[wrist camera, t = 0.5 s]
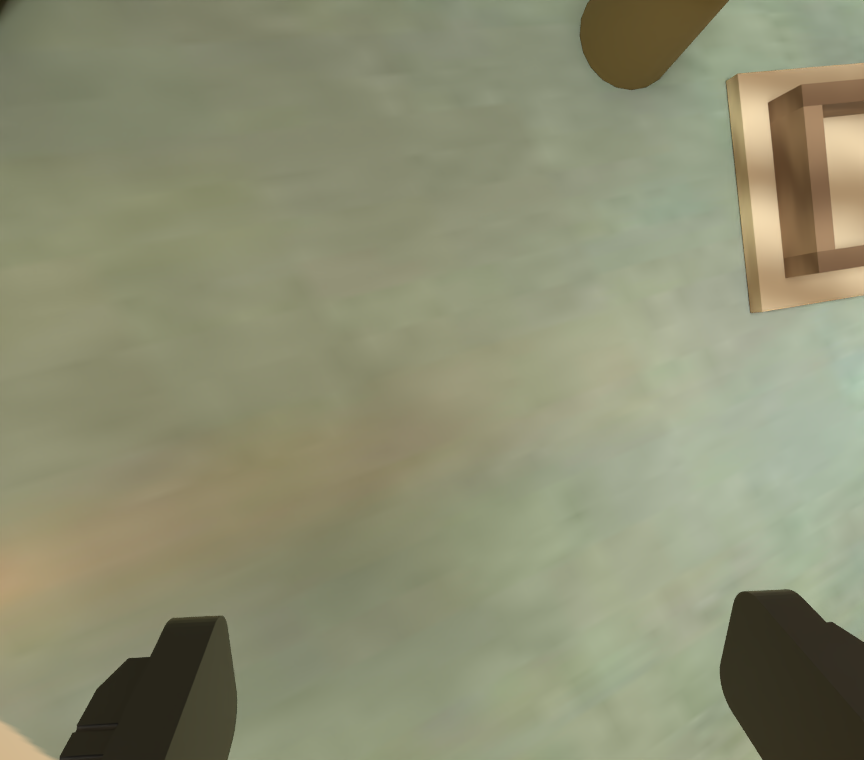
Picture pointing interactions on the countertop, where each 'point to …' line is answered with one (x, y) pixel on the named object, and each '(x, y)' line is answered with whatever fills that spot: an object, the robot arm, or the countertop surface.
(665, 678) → the countertop surface
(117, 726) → the robot arm
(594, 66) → the cork
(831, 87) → the shaker stand
